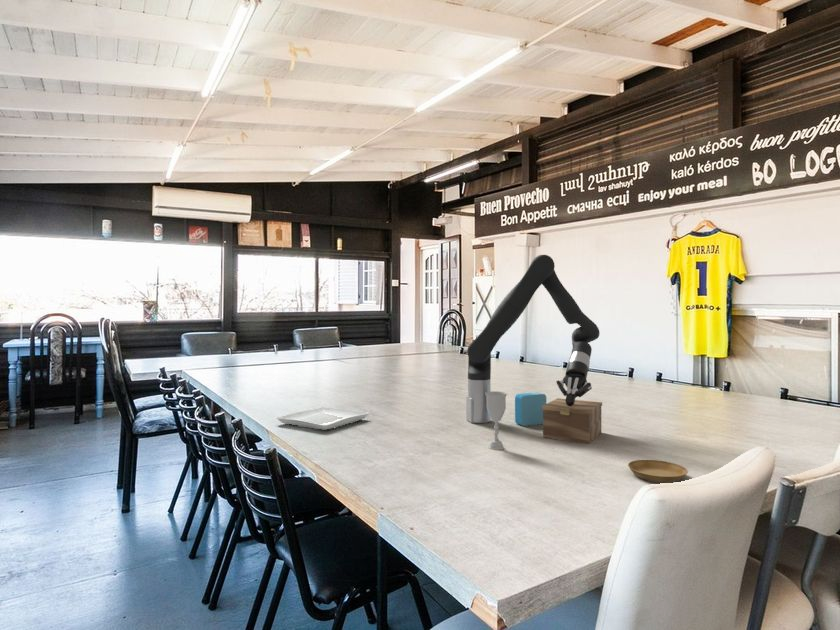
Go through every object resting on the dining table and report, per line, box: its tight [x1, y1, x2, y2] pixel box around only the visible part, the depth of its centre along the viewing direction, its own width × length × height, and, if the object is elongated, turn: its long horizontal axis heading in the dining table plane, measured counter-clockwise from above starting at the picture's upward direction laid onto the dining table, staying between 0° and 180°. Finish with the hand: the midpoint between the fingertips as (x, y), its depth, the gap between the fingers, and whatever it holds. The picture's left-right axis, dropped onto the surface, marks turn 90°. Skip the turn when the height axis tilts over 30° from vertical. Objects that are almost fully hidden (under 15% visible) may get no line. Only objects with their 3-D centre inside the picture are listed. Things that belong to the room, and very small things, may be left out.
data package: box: [514, 391, 547, 427], centre depth 200 cm, size 12×4×12 cm, turn 112°
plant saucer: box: [627, 459, 689, 484], centre depth 137 cm, size 15×15×3 cm
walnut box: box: [542, 406, 602, 444], centre depth 182 cm, size 18×16×10 cm
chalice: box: [485, 391, 508, 451], centre depth 166 cm, size 7×7×18 cm
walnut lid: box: [542, 397, 603, 415], centre depth 182 cm, size 19×17×2 cm
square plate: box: [275, 406, 371, 431], centre depth 205 cm, size 27×27×4 cm
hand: (569, 404), depth 178 cm, fingers closed
